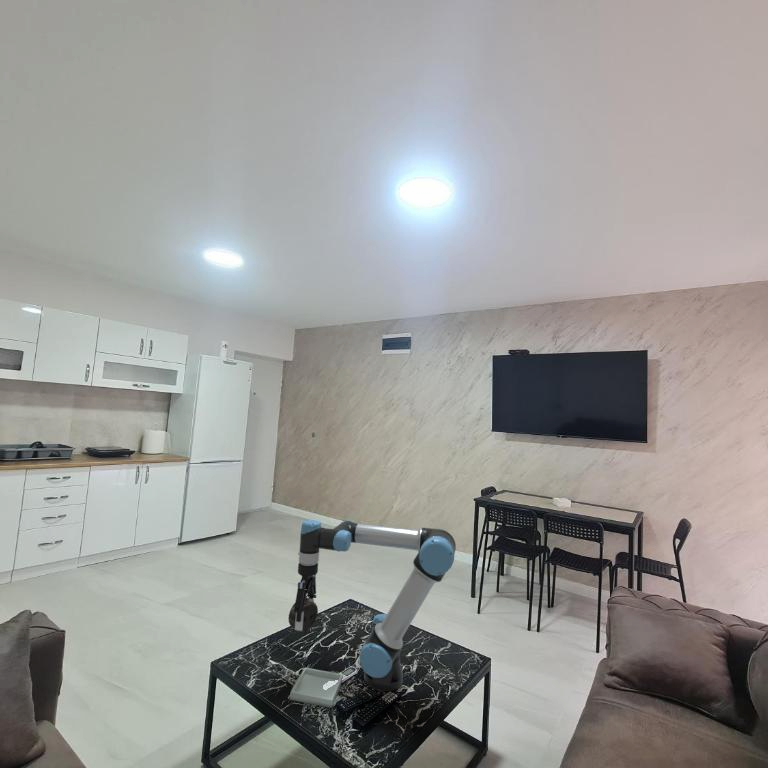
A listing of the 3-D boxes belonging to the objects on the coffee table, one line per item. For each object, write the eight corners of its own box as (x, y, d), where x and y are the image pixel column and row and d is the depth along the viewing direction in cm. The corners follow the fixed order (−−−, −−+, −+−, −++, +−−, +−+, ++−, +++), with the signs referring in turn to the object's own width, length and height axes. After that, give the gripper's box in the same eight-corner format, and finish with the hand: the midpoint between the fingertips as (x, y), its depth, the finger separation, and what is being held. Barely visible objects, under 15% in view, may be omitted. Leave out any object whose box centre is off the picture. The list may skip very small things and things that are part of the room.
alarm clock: (310, 625, 163) (313, 582, 164) (318, 631, 159) (321, 587, 160) (286, 634, 155) (289, 589, 156) (294, 640, 151) (298, 594, 153)
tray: (342, 681, 158) (343, 674, 158) (331, 707, 143) (332, 700, 143) (304, 674, 161) (304, 667, 161) (289, 699, 146) (290, 692, 146)
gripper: (309, 552, 172) (305, 608, 170) (287, 571, 149) (282, 636, 147) (326, 554, 170) (322, 610, 168) (307, 574, 148) (302, 639, 146)
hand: (304, 622), depth 158 cm, fingers closed on alarm clock, 11 cm apart
